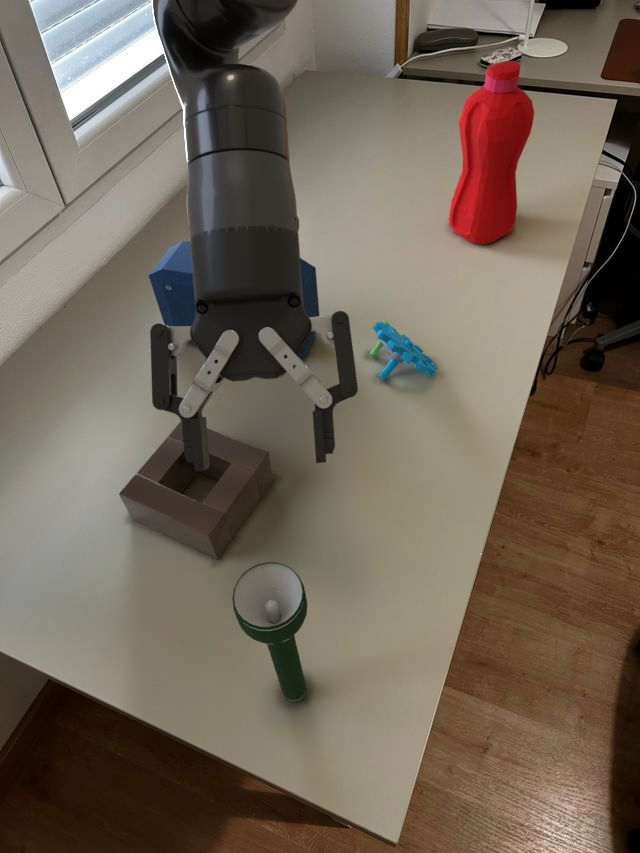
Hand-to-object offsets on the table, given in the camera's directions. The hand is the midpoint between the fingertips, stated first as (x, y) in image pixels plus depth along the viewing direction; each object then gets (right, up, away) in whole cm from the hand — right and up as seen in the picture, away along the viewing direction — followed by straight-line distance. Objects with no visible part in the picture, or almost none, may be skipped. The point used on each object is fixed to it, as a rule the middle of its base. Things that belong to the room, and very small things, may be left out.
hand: (262, 465), depth 46 cm
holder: (-9, -6, +28) cm, 30 cm away
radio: (-7, +16, +46) cm, 49 cm away
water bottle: (+30, +35, +60) cm, 76 cm away
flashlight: (+2, -22, +13) cm, 26 cm away
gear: (+15, +10, +40) cm, 44 cm away
